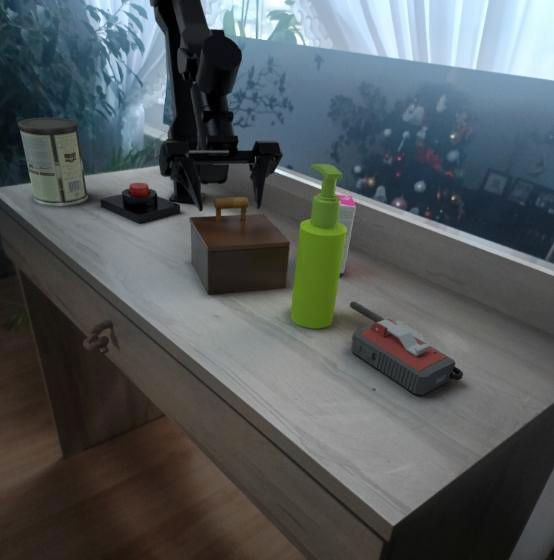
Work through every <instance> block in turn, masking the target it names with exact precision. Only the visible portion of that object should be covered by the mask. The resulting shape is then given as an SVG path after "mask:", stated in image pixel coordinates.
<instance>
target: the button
mask: <svg viewBox="0 0 554 560" xmlns="http://www.w3.org/2000/svg"><path fill="white" fill-rule="evenodd" d="M128 189H130V195H134V196H146V195H149V189H150V188H149V184H147V183H146V182H145V183H144V182H132V183H130V184H129V185H128Z"/></svg>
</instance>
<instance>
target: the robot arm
mask: <svg viewBox="0 0 554 560" xmlns="http://www.w3.org/2000/svg"><path fill="white" fill-rule="evenodd" d="M149 5H150V8H151V7H152V9H153V15H154V21H155V23H156V24H157V26H158V27H159V29H160V30H161V32H162V33H163V35H164V37H165V39H164V40H165V48H166V57H167V66H168V75H169V76H168V77H169V86H170V95H171V105H172V116H173V119H172V121H171V123H170V126H169V127H168V130H167V132H166V133H167V138H166V139H165V140H163V141H162V143H161V144H160V147H159V148H160V149H159V156H158V167H159V173H160V176H161V177H164V178H169V180H171V181H172V184H173V186H172V187H173V193H172V194H171V195H170V197H168V200H169V201H171V202H174V203H185V204H194V205H195V207H196V208H197V210H198V211H199V212H203V210H204V205H203V200H204V198H205V197H206V193H205V192H202V185H208V184H217V185H224V184H225V183H227V182H228V178H229V177H228V176H229V169H230V165H248V168H249V171H250V172H251V173H250V175H249V178H250V180H251V182H252V190H253V198H254V199H253V200H254V204H255V208H256V209H257V210H260V209H261V207H262V201H263V196H264V190H265V183H266V178H268V177H269V176H270V175H273V174H274V173H275V171H276V169H277V168H278V166H279V164H280V162H281V160H282V158H283V157H284V154H283V149H282V145H281V144H280V142H278V141H277V140H255V142H254V144H253V147H252V149H251V150H249V149H248V150H239V148H238V144H239V141H240V140H239V136H238V135H236V133H235V127H234V122H233V121H234V118H235V115H234V111H232V110H231V107H230V101H229V96H228V95H230V94H232V92H233V90H234V88H235V87H234V86H235V84H236V80H237V76H238V73H239V70H240V67H241V63H242V59H243V52H242V50H241V48H240V47H239V46H238V44H237V43H236V42H235V41H234V40H232V39H231V38H229V37H228V36H226V33H225V30H224V29H216V28H210V27H209V25H208V22H207V18H206V14H205V11H204V8H203V5H202V1H201V0H149Z"/></svg>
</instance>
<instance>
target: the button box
mask: <svg viewBox="0 0 554 560" xmlns="http://www.w3.org/2000/svg"><path fill="white" fill-rule="evenodd" d="M99 201H100V207H101V208H102V209H104V210H107V211H109V212H111V213H113V214H116V215H117V216H120V217H123V218H124V219H127V220H129V221H131V222H133V223H136V224H138V225H141V224H145V223H149V222H152V221H156V220H160V219H163V218H168V217H172V216H174V215H179V214H181V204H178V203H177V202H174V201H169V199H165V198H163V197H160V196H159V195H158V192H157V190H155V189H152V188H149V195H146V196H134V195H130V189H129V188H125V189H124V190H122V191H121V194H116V195H112V196H107V197H102V198H100V199H99Z"/></svg>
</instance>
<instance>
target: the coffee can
mask: <svg viewBox="0 0 554 560" xmlns="http://www.w3.org/2000/svg"><path fill="white" fill-rule="evenodd" d="M17 126H18V128H19V131H20V137H21V141H22V146H23V151H24V155H25V160H26V165H27V170H28V175H29V179H30V184H31V189H32V194H33V200H34V202H35V203H38V204H39V205H42V206H47V207H70V206H76V205H80V204H83V203H84V202H86V201H87V200H88V199H89V196H88V192H87V185H86V179H85V178H86V177H85V171H84V165H83V157H82V150H81V143H80V136H79V123H78V122H77V121H75V120H73V119H71V118H63V117H30V118H24V119H22V120H20V121H18V122H17Z"/></svg>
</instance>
